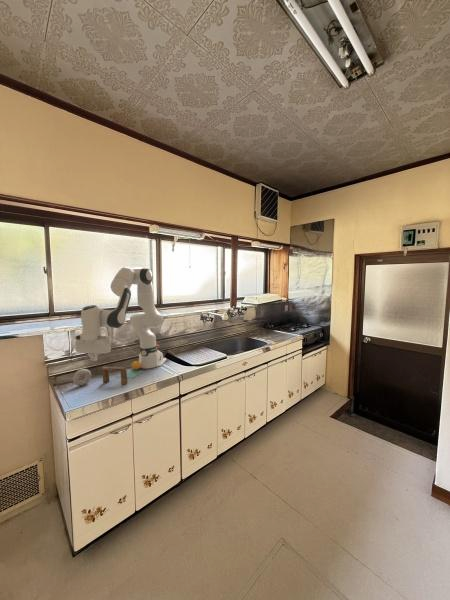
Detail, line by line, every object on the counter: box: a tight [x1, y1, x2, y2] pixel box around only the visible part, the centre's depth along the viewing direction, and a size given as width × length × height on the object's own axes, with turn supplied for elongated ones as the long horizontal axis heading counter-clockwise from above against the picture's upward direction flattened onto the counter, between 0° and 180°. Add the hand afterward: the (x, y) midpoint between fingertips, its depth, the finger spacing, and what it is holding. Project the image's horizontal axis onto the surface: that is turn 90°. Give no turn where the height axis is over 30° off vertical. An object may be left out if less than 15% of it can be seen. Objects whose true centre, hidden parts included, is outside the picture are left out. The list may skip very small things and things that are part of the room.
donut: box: [72, 368, 92, 387], centre depth 147 cm, size 10×4×10 cm, turn 136°
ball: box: [131, 360, 141, 370], centre depth 171 cm, size 6×6×6 cm
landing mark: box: [115, 369, 145, 379], centre depth 163 cm, size 13×13×1 cm
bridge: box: [101, 365, 128, 386], centre depth 148 cm, size 3×15×10 cm, turn 76°
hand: (94, 360), depth 133 cm, fingers closed
